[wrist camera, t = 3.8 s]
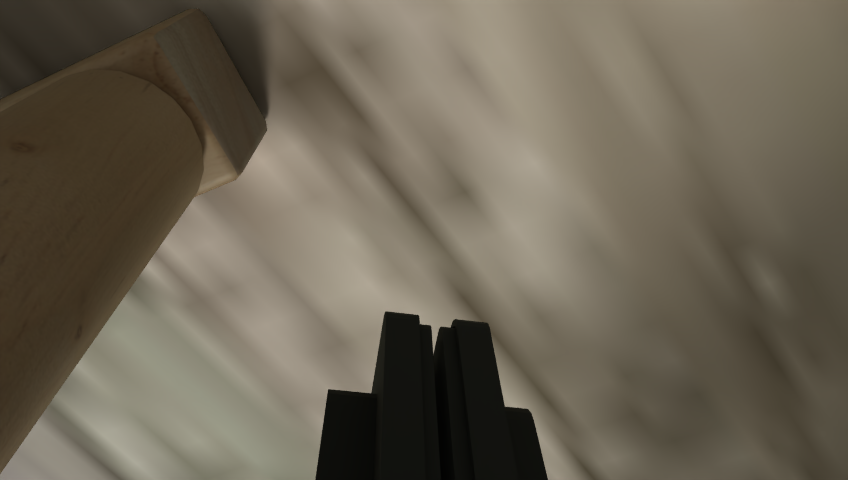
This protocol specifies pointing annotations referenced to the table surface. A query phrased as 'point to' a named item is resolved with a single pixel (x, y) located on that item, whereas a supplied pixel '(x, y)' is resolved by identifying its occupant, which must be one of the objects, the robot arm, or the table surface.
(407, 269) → the table surface
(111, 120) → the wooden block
